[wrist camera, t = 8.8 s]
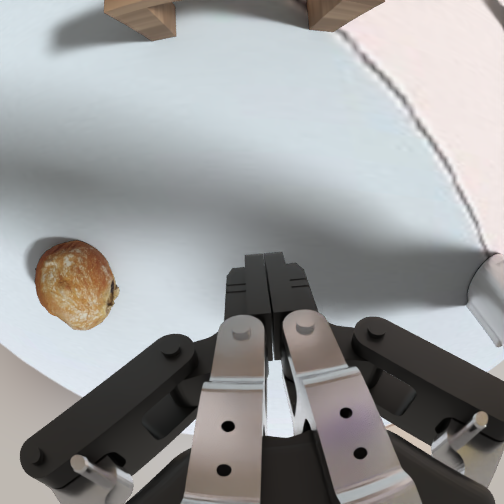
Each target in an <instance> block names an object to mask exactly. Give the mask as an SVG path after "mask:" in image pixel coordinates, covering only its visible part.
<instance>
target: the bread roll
mask: <svg viewBox="0 0 504 504" xmlns="http://www.w3.org/2000/svg"><path fill="white" fill-rule="evenodd" d="M35 270H36V275H35V284H36V292H37V296H38V298H39V301H40V303H41V304H42V306H44V307H45V308H46V310H47V311H48V312H49V313H50V314H51V315H54V316H57V317H58V318H60V319H61V320H62V321H64V322H65V323H66V324H68V325H69V326H70V327H71V328H72V329H74V330H89V329H91V328H93V327H95V326H97V325H98V324H100V323H101V322H103V320H104V319H105V318H106V317H107V316H108V314H109V312H110V310H111V307H112V306H113V304H115V303H114V300H115V299H116V298H117V296H118V295H119V287H117V286H116V282H115V278H114V276H113V274H112V271H111V269H110V267H109V264H108V261H107V260H106V258H105V257H104V256H103V255H102V253H101V252H99V251H98V250H97V249H96V248H94V247H93V246H91V245H89V244H87V243H85V242H82V241H78V240H76V241H69V242H65V243H62V244H58V245H56V246H54V247H52V248H51V249H49V250H47V251H46V252H45V253H44V254H43V255H42V256H41V258H40V260H39V262H38V264H37V268H36V269H35Z"/></svg>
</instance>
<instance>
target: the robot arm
mask: <svg viewBox="0 0 504 504" xmlns="http://www.w3.org/2000/svg"><path fill="white" fill-rule="evenodd" d="M264 264H265V266H264ZM466 306H467V308H468V309H469V310H470V311H471V313H472V314H473V315H474V317H475V318H476V319H477V321H478V322H479V323H480V325H481V326H482V327H483V329H484V330H485V331H486V333H487V334H488V336H489V337H490V338H491V340H492V341H493V343H494V344H495V346H496V347H501V346H503V347H504V256H503V255H502V254H496V255H493V256H491V257H490V258H489V259H487V260H486V261H485V262H484V263H483V264H482V265H481V267H480V268H479V269H478V271H477V272H476V274H475V275H474V277H473V279H472V281H471V283H470V286H469V289H468V303H467V305H466ZM272 344H273V352H274V360H281V363H282V379H283V383H284V388H285V392H286V396H287V400H288V405H289V409H290V413H291V417H292V422H293V432H294V436H293V437H289V438H280V437H272V436H267V377H268V374H269V367H268V361H273V354H272ZM385 371H386V372H385ZM390 374H391V375H390ZM397 378H398V379H397ZM404 382H405V383H404ZM409 385H410V386H409ZM380 416H381V417H383V418H384V419H386V420H387V421H389V422H391V423H392V424H394V425H396V426H397V427H399V428H401V429H402V430H404V431H406V432H407V433H409V434H411V435H413V436H414V437H416V438H418V439H419V440H421V441H423V442H425V443H426V444H428V445H430V446H432V447H431V451H432V455H431V456H430V455H429V454H427V453H425V452H424V451H422V450H421V449H419V448H417V447H416V446H414V445H413V444H411V443H409V442H408V441H406V440H405V439H403V438H402V437H400V436H398V435H397V434H395V433H393V432H391V431H389V430H386V429H385V426H384V424H383V421H382V419H381V417H380ZM195 419H196V424H195V430H194V436H193V442H192V448H190V449H188V450H186V451H184V452H183V453H181V454H179V455H178V456H177V457H175V458H174V459H173V460H172V461H171V462H170V463H169V464H168V465H167V466H166V467H165V468H164V469H162V470H161V471H160V472H159V473H158V474H157V475H156V476H155V477H154V478H153V479H152V480H151V481H150V482H149V483H148V484H147V485H145V486H144V487H143V488H142V489H141V490H140V491H139V492H138V493H137V494H135V496H133V497H132V498H131V499H130V500H129V501H127V502H126V503H125V501H126V500H127V499H128V498H129V497H130V495H131V494H132V491H133V480H132V477H131V476H132V475H134V474H135V473H136V472H137V471H138V470H140V469H141V468H142V467H143V466H144V465H146V464H147V463H148V462H149V461H150V460H151V459H152V458H153V457H155V456H156V455H157V454H158V453H159V452H160V451H162V450H163V449H164V448H165V447H166V446H167V445H168V444H169V443H170V442H171V441H172V440H174V439H175V438H176V437H177V436H178V435H179V434H180V433H181V432H182V431H183V430H184V429H185V428H186V427H188V426H189V425H190V424H191V423H192V422H193V421H194V420H195ZM503 451H504V381H502V380H500V379H499V378H497V377H495V376H493V375H491V374H489V373H487V372H485V371H483V370H481V369H479V368H478V367H476V366H474V365H472V364H470V363H468V362H466V361H464V360H462V359H460V358H458V357H457V356H455V355H453V354H451V353H449V352H447V351H445V350H443V349H441V348H439V347H437V346H436V345H434V344H432V343H430V342H428V341H426V340H424V339H422V338H420V337H418V336H416V335H414V334H413V333H411V332H409V331H407V330H405V329H403V328H401V327H399V326H397V325H395V324H393V323H391V322H390V321H388V320H386V319H383V318H380V317H366V318H364V319H362V320H360V321H359V322H358V323H357V324H356V326H355V328H352V327H342V326H336V325H333V324H331V323H328V322H327V320H326V318H325V317H324V316H323V315H322V314H320V313H319V312H318V310H317V307H316V304H315V301H314V298H313V295H312V292H311V289H310V287H309V283H308V280H307V277H306V275H305V272H304V269H302V268H301V267H300V266H299V265H298V264H297V263H291V264H285V260H284V257H283V253H282V252H275V253H264V259H263V254H251V255H245V267H243V268H232V270H231V271H230V272H229V274H228V275H227V282H226V298H225V316H224V322H223V323H222V324H221V325H220V327H219V330H218V332H217V333H216V334H214V335H213V336H211V337H209V338H206V339H203V340H200V341H196V342H193V341H192V340H191V339H190V338H189V337H187V336H185V335H182V334H170V335H166V336H163V337H161V338H160V339H158V340H157V341H155V342H154V343H153V344H152V345H150V346H149V347H148V348H146V349H145V350H144V351H143V352H141V353H140V354H139V355H138V356H136V357H135V358H134V359H132V360H131V361H130V362H128V363H127V364H126V365H125V366H123V367H122V368H121V369H119V370H118V371H117V372H116V373H114V374H113V375H112V376H110V377H109V378H108V379H107V380H105V381H104V382H103V383H101V384H100V385H99V386H97V387H96V388H95V389H93V390H92V391H91V392H90V393H88V394H87V395H86V396H84V397H83V398H82V399H80V400H79V401H78V402H76V403H75V404H74V405H73V406H71V407H70V408H69V409H67V410H66V411H65V412H63V413H62V414H61V415H59V416H58V417H57V418H55V419H54V420H53V421H51V422H50V423H49V424H47V425H46V426H45V427H43V428H42V429H41V430H39V431H38V432H37V433H35V434H34V435H33V436H31V437H30V438H29V439H27V441H25V443H24V444H23V446H22V448H21V451H20V462H21V465H22V467H23V469H24V470H25V472H26V473H27V474H28V475H30V476H31V477H33V478H35V479H37V480H38V481H40V482H42V483H44V484H45V485H46V486H48V487H49V488H50V489H51V490H52V491H53V493H54V494H55V496H56V497H57V499H58V500H59V502H60V503H61V504H124V503H125V504H495V500H494V498H493V495H492V494H491V492H490V491H489V490H488V489H487V488H488V486H489V484H490V482H491V480H492V478H493V475H494V473H495V471H496V468H497V466H498V463H499V461H500V459H501V456H502V453H503Z"/></svg>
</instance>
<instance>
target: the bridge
mask: <svg viewBox="0 0 504 504" xmlns="http://www.w3.org/2000/svg"><path fill="white" fill-rule="evenodd" d="M174 1H180V0H104V13H105V14H107V15H109V16H111V17H113V18H114V19H116V20H118V21H120V22H121V23H123V24H125V25H126V26H128V27H130V28H131V29H133V30H135V31H136V32H138V33H140V34H141V35H143V36H145V37H146V38H148V39H149V40H151V41H156V40H160V39H165V38H170V37H176V14H175V5H174V4H173V3H172V2H174ZM306 1H307V11H308V21H309V30H318V31H327V32H334V31H336V30H337V29H339V28H340V27H342V26H344V25H345V24H347V23H348V22H350V21H352V20H353V19H355V18H357V17H358V16H360V15H362V14H364V13H365V12H367V11H369V10H371V9H372V8H374V7H376V6H378V5H380V4H382V3H384V2H385V0H306Z"/></svg>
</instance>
